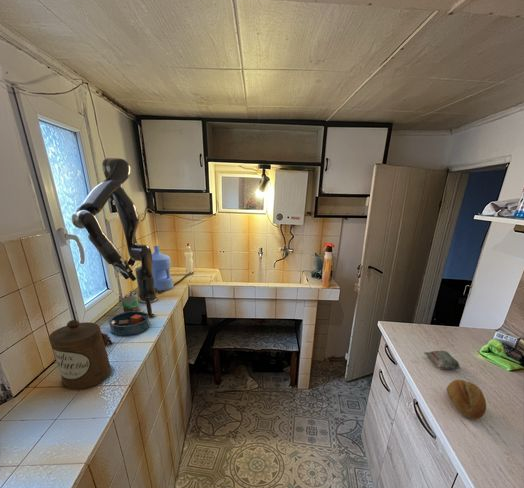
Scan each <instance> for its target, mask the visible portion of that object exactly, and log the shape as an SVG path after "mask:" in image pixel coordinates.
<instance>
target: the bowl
mask: <svg viewBox="0 0 524 488" xmlns="http://www.w3.org/2000/svg"><path fill="white" fill-rule="evenodd" d="M134 315H142V316H143V322H140V323H138V324H134V325H131V320H130V317H132V316H134ZM119 320H129V324H130V325H129V326H118V323H119ZM108 326H109V330H110V332H111V333H113V334H114V335H117V336H133V335H137V334H141V333H143V332H144V331H146V330H147V329H148V328H149V327H150V326H151V318H149V315H148V313H147V312H145V311H141V310H140V311H139V310H138V311H132V312H125V313H124V312H120V313H118V314H115V315H114V316H112V317H110V318H109V319H108Z"/></svg>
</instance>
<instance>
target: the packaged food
mask: <svg viewBox="0 0 524 488" xmlns="http://www.w3.org/2000/svg"><path fill="white" fill-rule="evenodd" d="M423 354H424V355H425V356H427V359H429V360H430V361H431V362H432V363H433V364H434V365H435V366H436V368H438V369H443V370H461V369H462V368H461V366H460V363H459V361H458V360H456V359H455V358H454V357H453V356H452V355H451V354H450V353H449V352H448V351H446V350H432V351H431V350H430V351H424V352H423Z"/></svg>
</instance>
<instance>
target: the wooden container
mask: <svg viewBox="0 0 524 488" xmlns="http://www.w3.org/2000/svg"><path fill="white" fill-rule="evenodd" d="M102 333H103V332H102V330H101V327H100V325H99V324H97V323H95V322H87V321H86V322H79V320H75V319H71V320H69V321H68V322H67V323H66V325H64V326H62V327H58V328H57V329H55V330H54V331H52V332H51V333H50V334H49V336H48V341H49V344H50V346H51V348H52V351H53V353H54V357H55V360H56V365H57V368H58V370H59V373H60V375H61V379H62V382H63V384H64V386H65V387H67V388H70V389H75V390H76V389H77V390H78V389H87V388H90V387H93V386H97V385H98V384H100V383H102V382H104V381H105V380H107V379H108V378H109V376H110V375H111V373H112V369H111V368H112V367H111V364H110V359H109V355H108V352H107V348H106V346H105V344H104V341H103V337H102Z"/></svg>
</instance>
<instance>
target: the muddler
mask: <svg viewBox="0 0 524 488" xmlns="http://www.w3.org/2000/svg"><path fill="white" fill-rule="evenodd" d="M145 301H146V303H145V307H146V313H147V314H148V315H149V319H153V318H155V314H154V313H153V311H152V302H151V303H150V297H145Z"/></svg>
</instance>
